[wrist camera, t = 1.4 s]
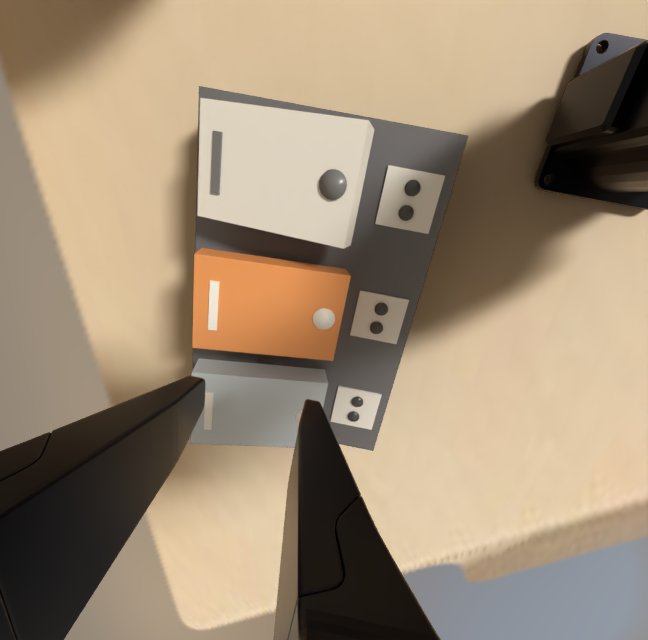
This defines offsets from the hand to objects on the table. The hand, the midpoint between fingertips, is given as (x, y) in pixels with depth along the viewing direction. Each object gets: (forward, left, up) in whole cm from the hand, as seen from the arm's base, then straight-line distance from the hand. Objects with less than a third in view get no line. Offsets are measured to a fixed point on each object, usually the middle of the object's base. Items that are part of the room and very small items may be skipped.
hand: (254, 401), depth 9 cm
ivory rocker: (+2, -6, -8) cm, 10 cm away
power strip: (0, 0, -12) cm, 12 cm away
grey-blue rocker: (+2, +6, -8) cm, 10 cm away
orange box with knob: (+2, 0, -8) cm, 8 cm away
